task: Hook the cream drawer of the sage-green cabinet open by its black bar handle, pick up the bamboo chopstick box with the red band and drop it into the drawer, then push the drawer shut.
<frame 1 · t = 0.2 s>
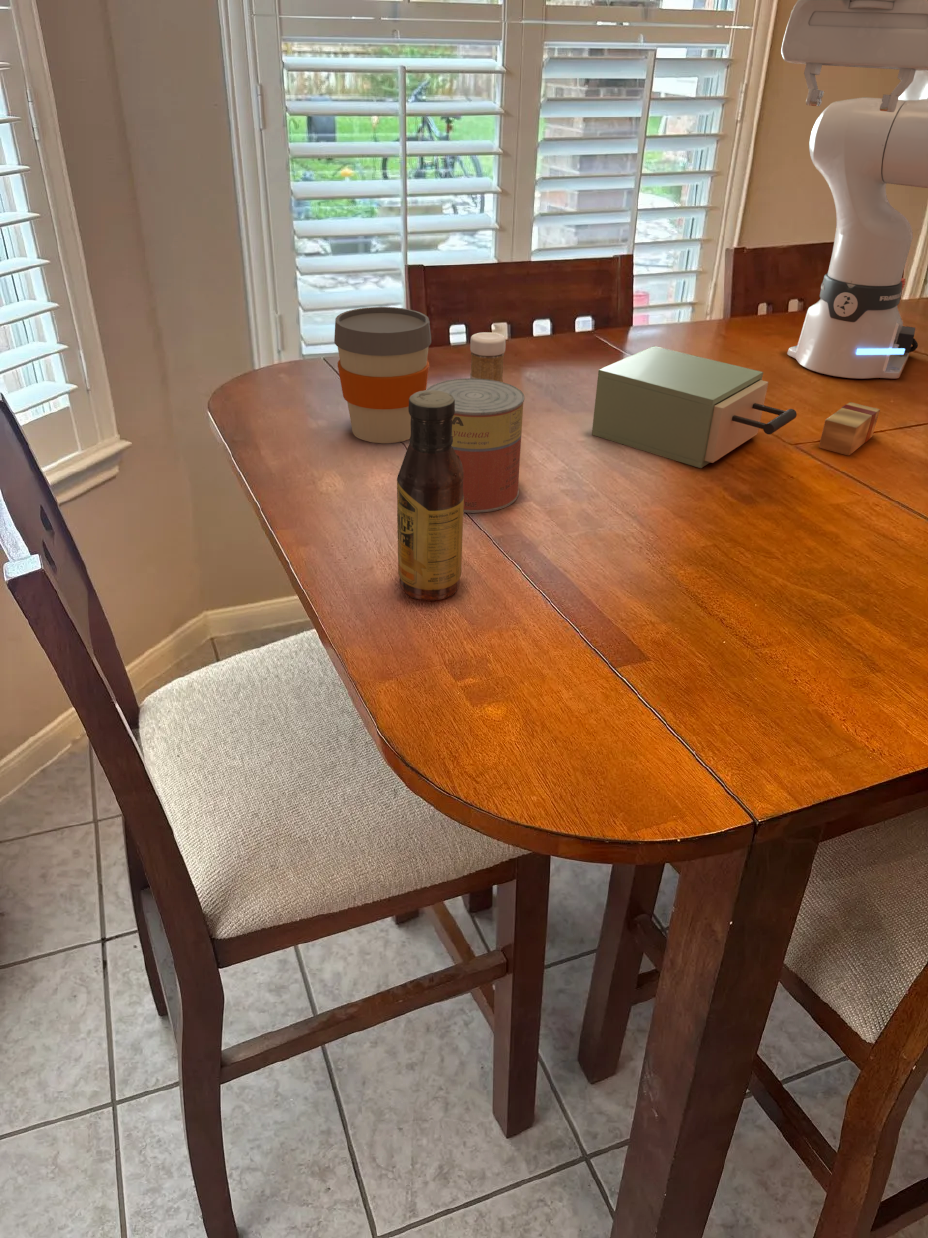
hand: (849, 108, 117), 39 cm above the table, tool pointing down, fingers open, 8 cm apart
chopstick box: (845, 441, 126), on the table
reusable coffee cup: (385, 431, 125), on the table
cabinet: (671, 435, 126), on the table
drawer: (707, 412, 121), point 5 cm above the table, slide at 0.0 cm
sprinkles bottle: (484, 436, 125), on the table
sauce bottle: (429, 590, 91), on the table
canned food: (471, 493, 110), on the table
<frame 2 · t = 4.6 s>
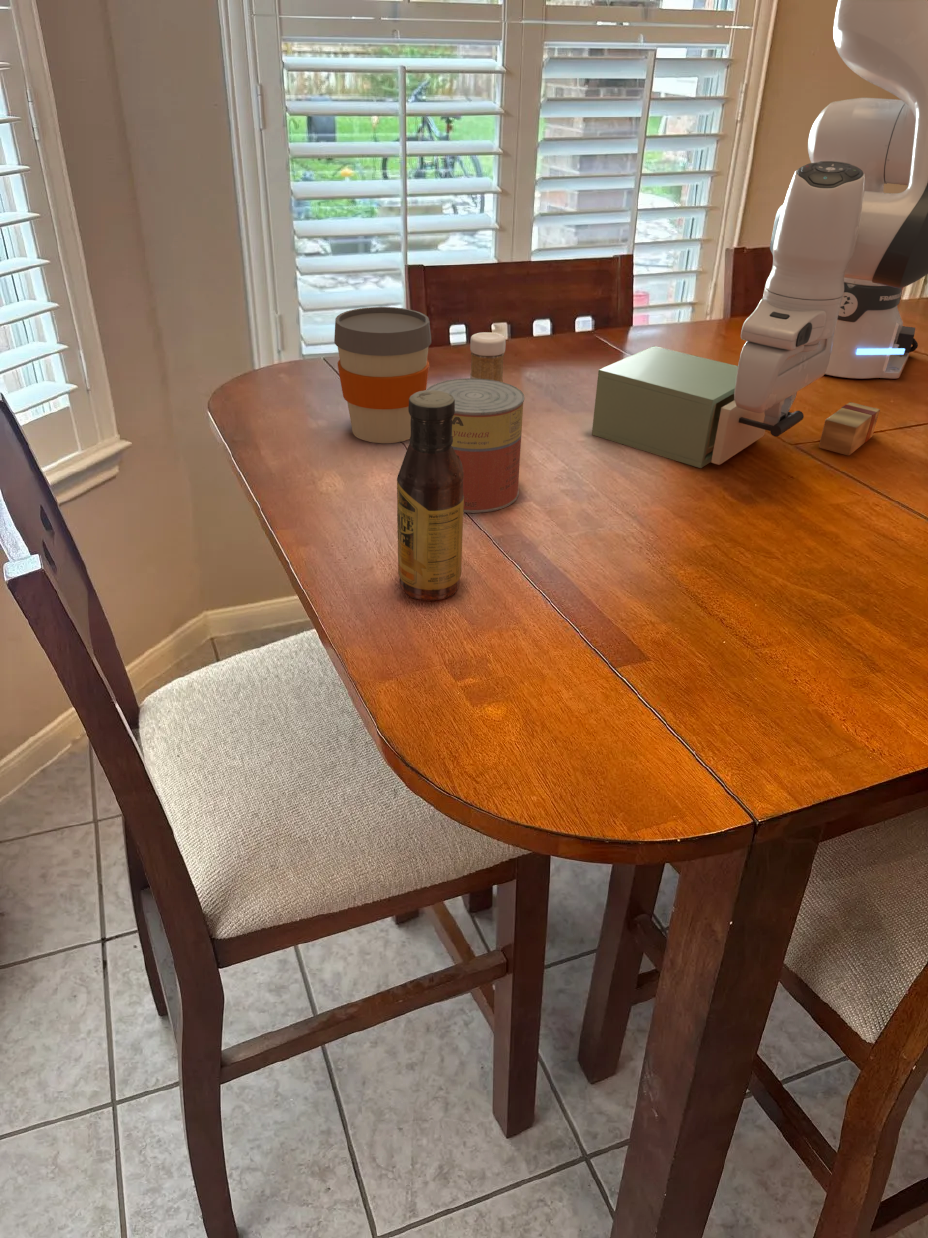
hand: (773, 426, 116), 5 cm above the table, tool pointing down, fingers closed
drawer: (713, 413, 121), point 5 cm above the table, slide at 0.9 cm, touching gripper
everything else where it was.
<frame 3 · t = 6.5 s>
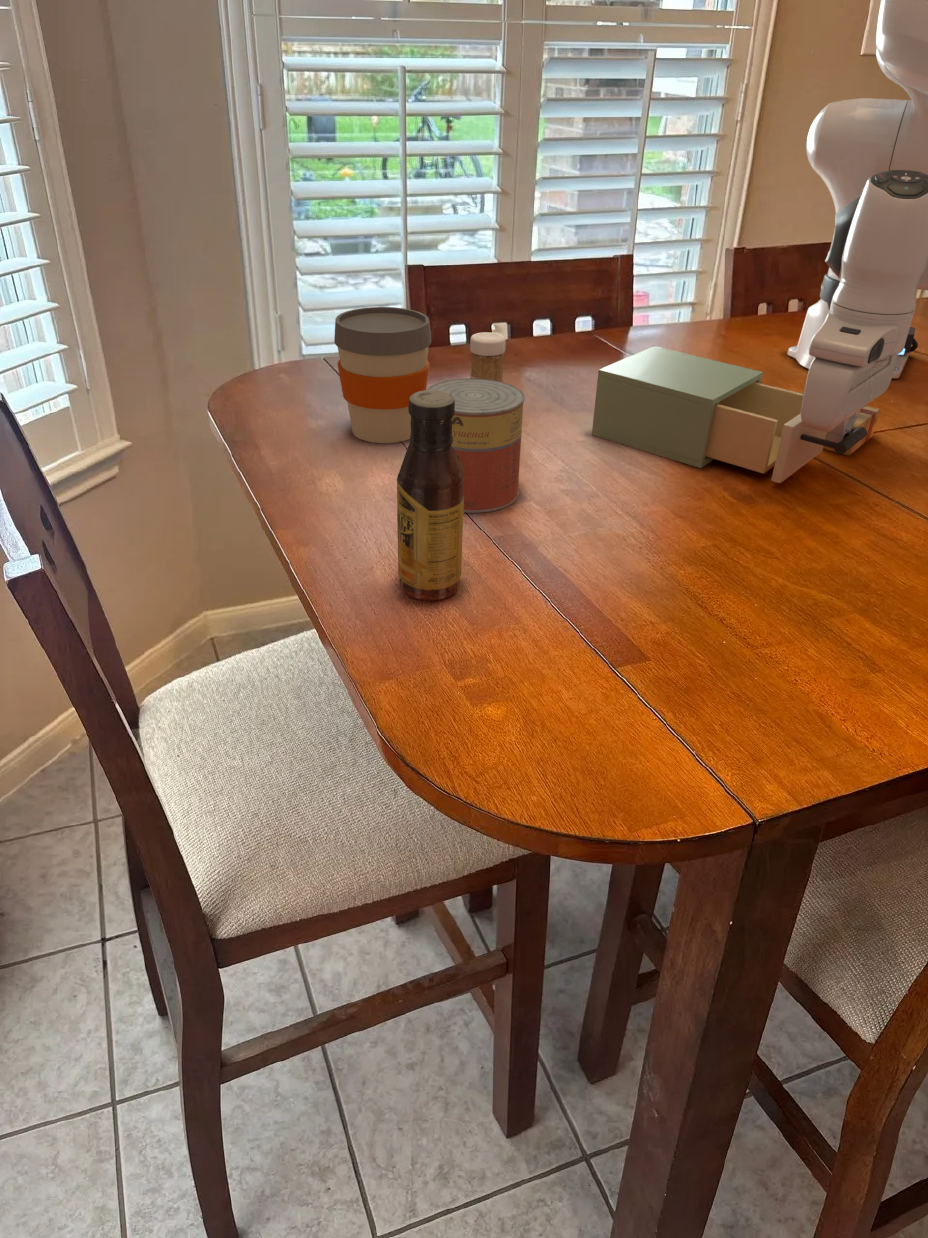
hand: (836, 444, 112), 5 cm above the table, tool pointing down, fingers closed, pressing on drawer
drawer: (771, 429, 117), point 5 cm above the table, slide at 9.0 cm, touching gripper
everything else where it was.
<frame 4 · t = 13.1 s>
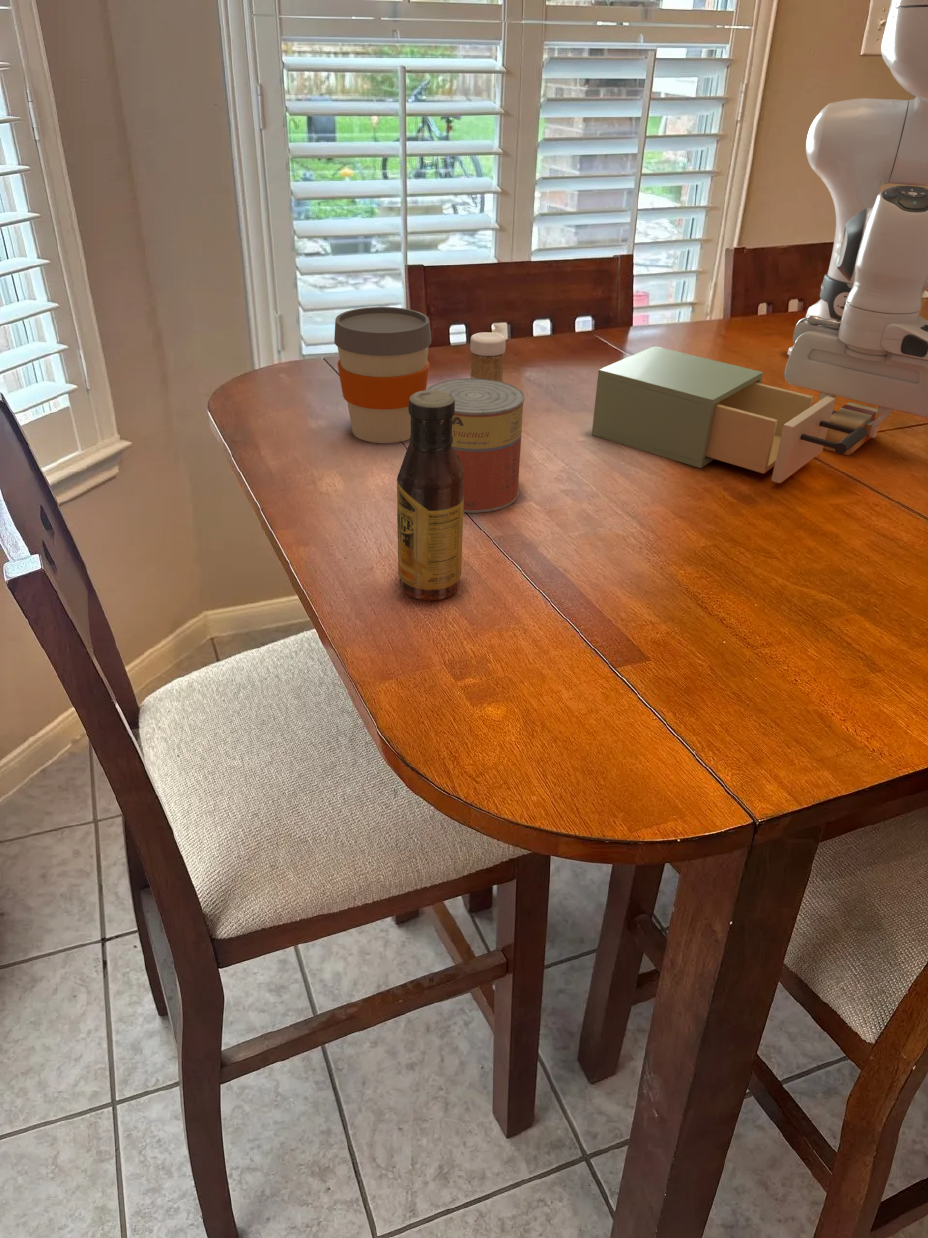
hand: (849, 430, 125), 2 cm above the table, tool pointing down, fingers closed on chopstick box, 4 cm apart
chopstick box: (845, 441, 126), on the table, touching gripper
drawer: (771, 429, 117), point 5 cm above the table, slide at 9.0 cm
everything else where it was.
when the fingers open (8 cm above the table, at t = 19.7 s): chopstick box drops 5 cm, resting on drawer.
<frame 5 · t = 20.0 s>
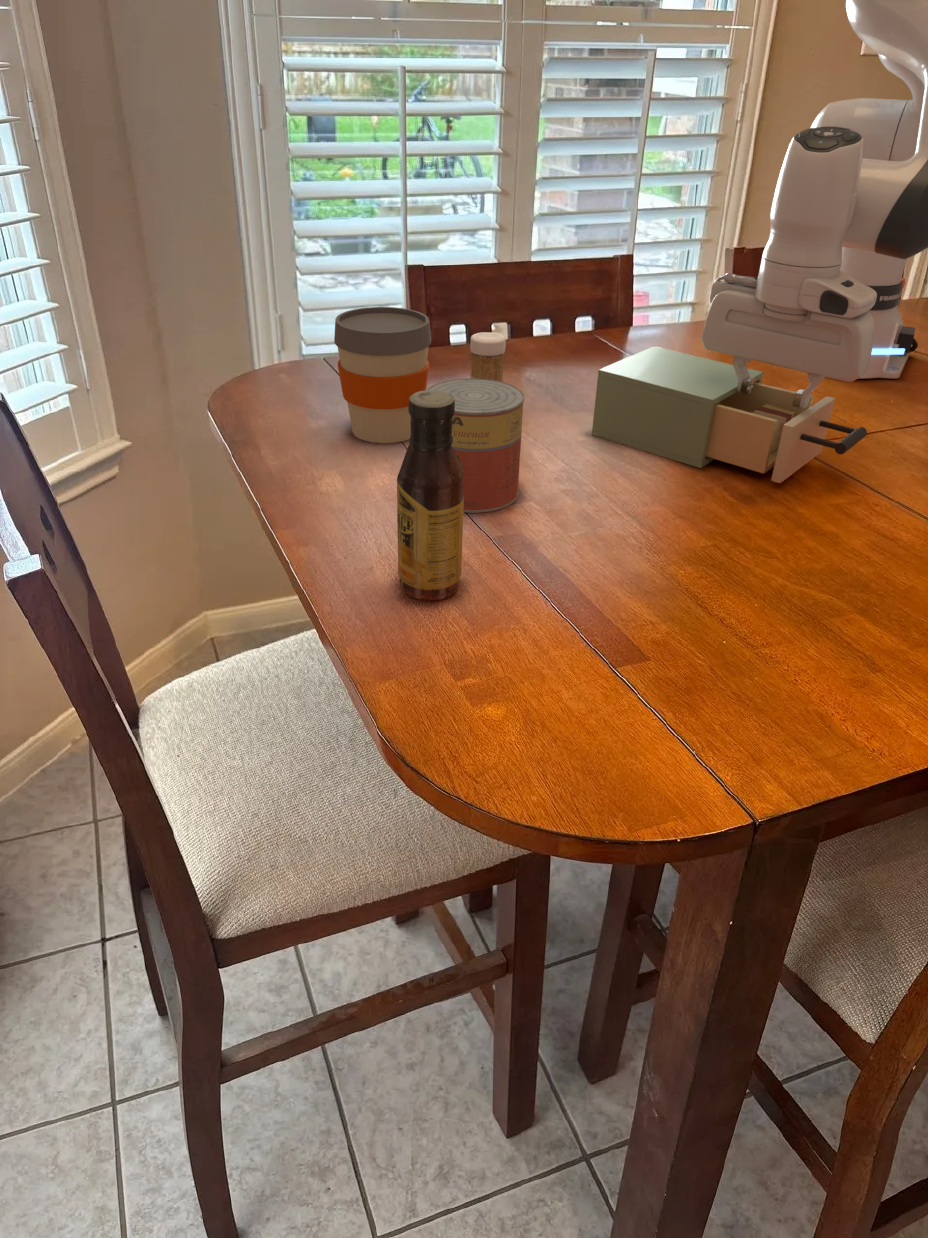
hand: (771, 399, 115), 8 cm above the table, tool pointing down, fingers open, 6 cm apart
chopstick box: (760, 446, 119), point 2 cm above the table, touching drawer
drawer: (771, 429, 117), point 5 cm above the table, slide at 9.0 cm, touching chopstick box
everything else where it was.
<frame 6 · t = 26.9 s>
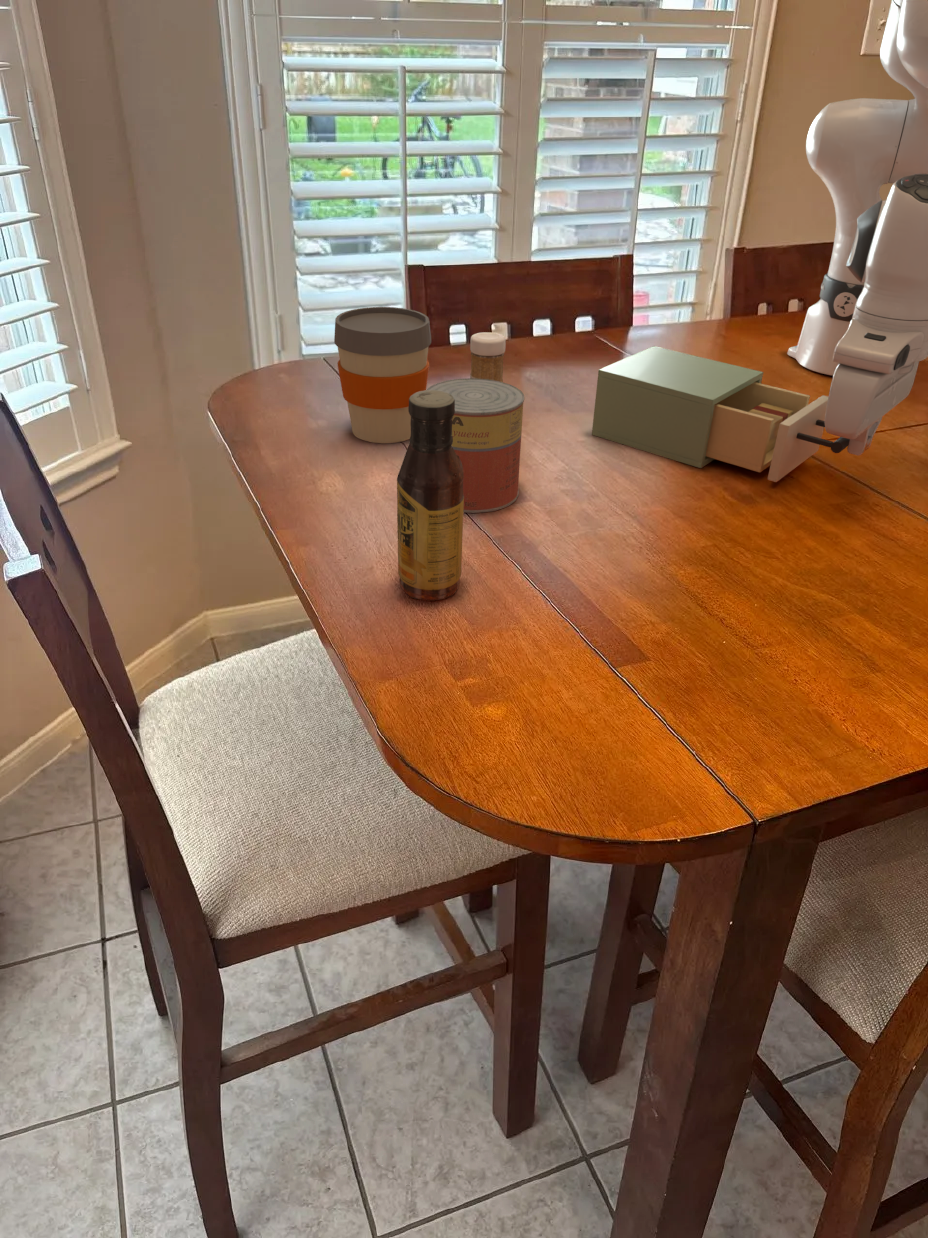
hand: (857, 450, 111), 5 cm above the table, tool pointing down, fingers closed, pressing on drawer
drawer: (767, 428, 117), point 5 cm above the table, slide at 8.5 cm, touching chopstick box, gripper
everything else where it was.
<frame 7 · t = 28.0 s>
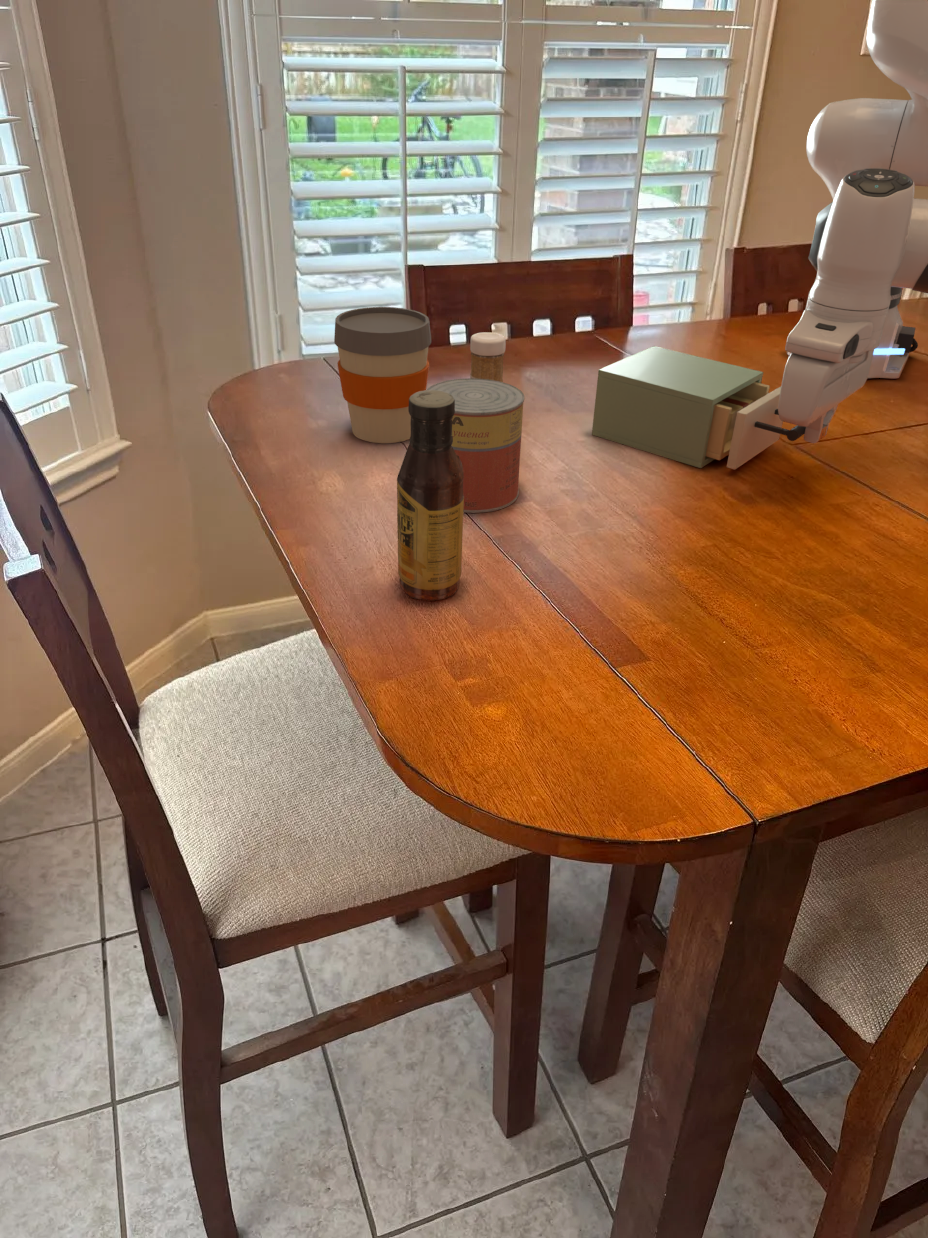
hand: (814, 438, 114), 5 cm above the table, tool pointing down, fingers closed, pressing on drawer
chopstick box: (718, 434, 122), point 2 cm above the table, touching drawer
drawer: (728, 418, 120), point 5 cm above the table, slide at 3.0 cm, touching chopstick box, gripper
everything else where it was.
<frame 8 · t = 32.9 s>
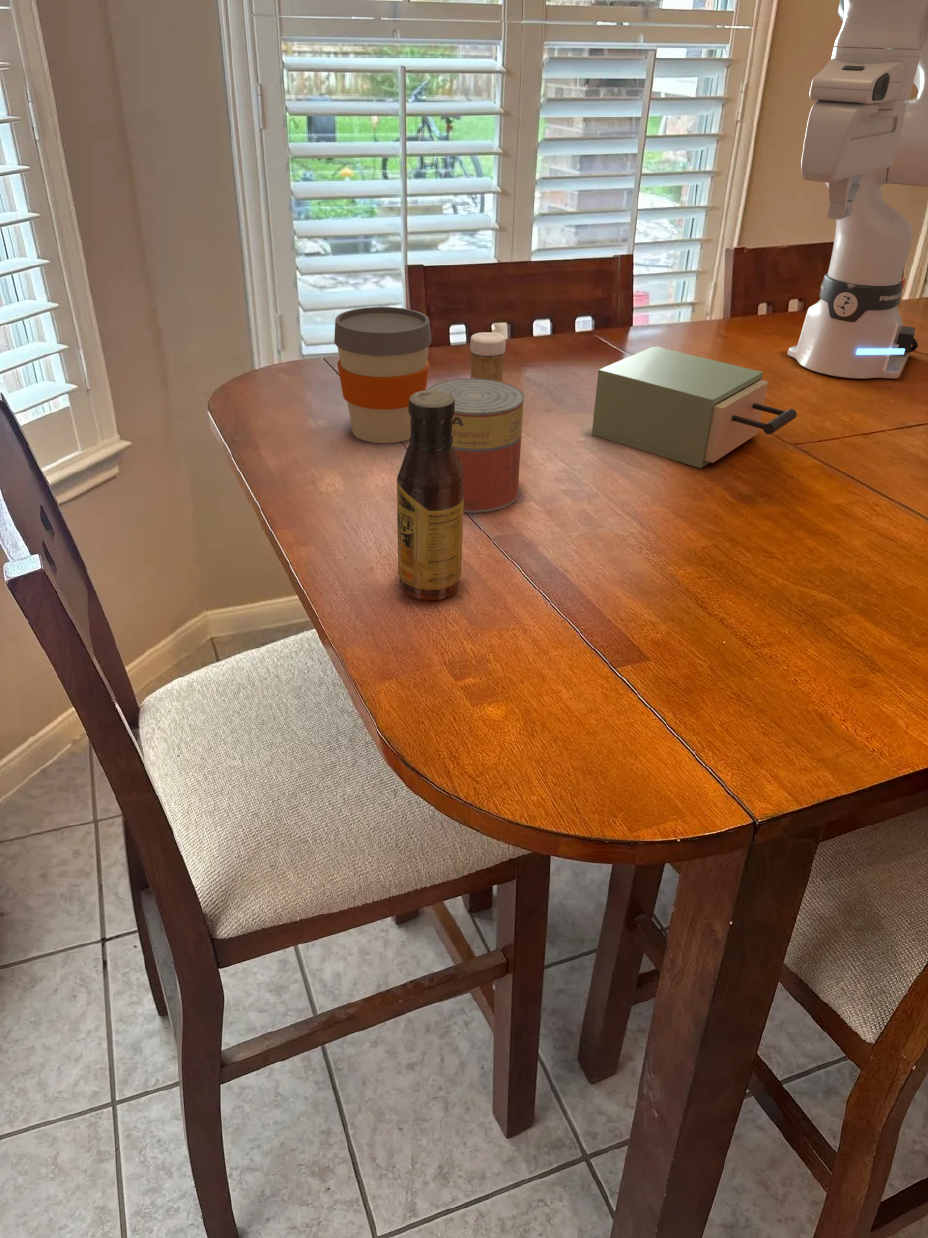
hand: (838, 217, 107), 29 cm above the table, tool pointing down, fingers closed
chopstick box: (697, 428, 123), point 2 cm above the table, touching drawer
drawer: (707, 412, 121), point 5 cm above the table, slide at 0.0 cm, touching chopstick box
everything else where it was.
at the end: drawer pulled out 9.0 cm at the most during the clip, back to where it started at the end; chopstick box inside the target area in the cabinet (3.2 cm from its centre), point 2.0 cm above the cabinet's base; drawer slide at 0.0 cm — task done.
